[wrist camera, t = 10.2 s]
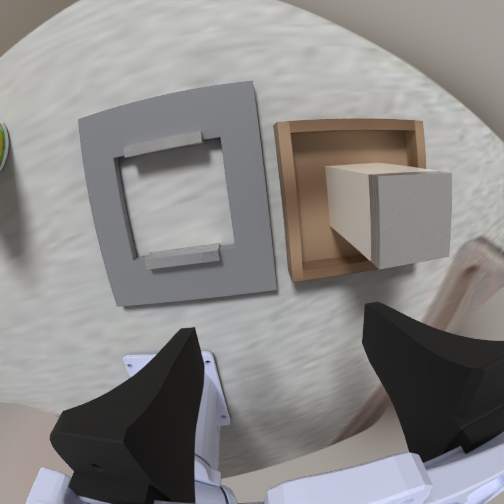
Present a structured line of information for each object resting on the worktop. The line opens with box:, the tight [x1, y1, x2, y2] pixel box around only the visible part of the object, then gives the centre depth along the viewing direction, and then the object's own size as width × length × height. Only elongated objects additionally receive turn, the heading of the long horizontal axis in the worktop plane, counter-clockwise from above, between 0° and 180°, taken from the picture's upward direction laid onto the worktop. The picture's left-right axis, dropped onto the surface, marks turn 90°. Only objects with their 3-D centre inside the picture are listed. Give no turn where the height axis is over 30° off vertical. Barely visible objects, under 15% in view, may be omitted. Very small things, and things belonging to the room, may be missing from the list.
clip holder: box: [78, 81, 277, 306], centre depth 19 cm, size 14×12×2 cm
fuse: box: [325, 163, 452, 269], centre depth 15 cm, size 4×4×8 cm
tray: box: [273, 119, 426, 282], centre depth 19 cm, size 10×10×2 cm
